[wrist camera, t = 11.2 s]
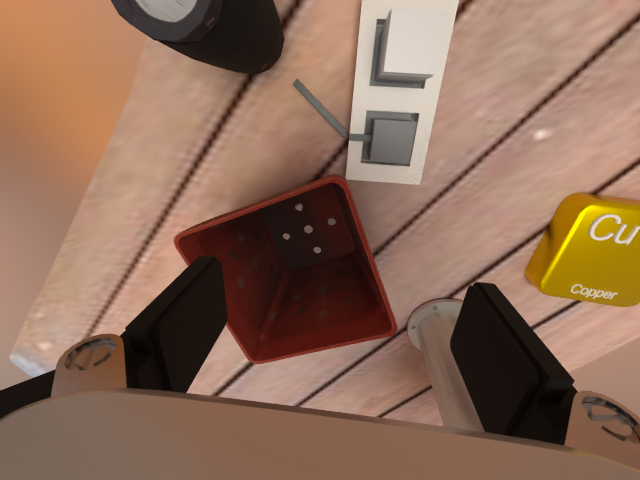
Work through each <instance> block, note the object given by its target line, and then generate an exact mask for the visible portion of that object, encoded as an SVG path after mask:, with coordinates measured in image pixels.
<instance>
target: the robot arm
mask: <svg viewBox="0 0 640 480" xmlns="http://www.w3.org/2000/svg"><path fill="white" fill-rule="evenodd" d="M227 319H228V313H227V304H226V295H225V287H224V278H223V269H222V263H221V261H218V259H217V257H214V256H204V255H200V256H199V257H198V258H197V259H196V260H195V261H194V262H193V263H192V264H190V265H189V266H188V267H187V268H186V269H185V270H184V271H183V272H182V273H181V274H180V275H179V276H178V277H177V278H176V279H175V280H174V281H173V282H172V283H171V284H170V285H169V286H168V287H167V288H166V289H165V290H164V291H163V292H162V293H161V294H160V295H159V296H157V297H156V298H155V299H154V300H153V301H152V302H151V303H150V304H149V305H148V306H147V307H146V308H145V309H144V310H143V311H142V312H141V313H140V314H139V315H138V316H137V317H136V318H135V319H134V320H133V321H132V322H131V323H130V324H129V325H128V326H127V327H126V328H125V329H126V331H125V332H124V333H123V334H121V335H120V336H118V335H114V334H101V335H96V336H92V337H90V338H87V339H84V340H82V341H80V342H79V343H77V344H75V345H73V346H72V347H71V348H69V349H68V350H67V351H65V353H64V354H63V355H62V356H61V357H60V358H59V361H58V363H57V365H56V369H55V370H53V371H50V372H48V373H45V374H42V375H40V376H37V377H35V378H32V379H29V380H27V381H24V382H21V383H19V384H16V385H14V386H11V387H9V388H6V389H4V390H1V391H0V480H640V418H639V417H638V416H637V415H636V414H634V413H633V412H632V411H630V410H629V409H628V408H627V407H625V406H624V405H622V404H620V403H619V402H617V401H615V400H613V399H611V398H609V397H607V396H605V395H602V394H599V393H596V392H592V391H581V392H577V390H576V389H575V388H574V387H573V385H572V384H573V383H574V379H573V378H572V377H571V376H570V375H569V373H568V372H567V371H566V370H565V369H564V367H563V366H562V365H561V364H560V363H559V361H558V360H557V359H556V358H555V356H554V355H553V354H552V353H551V352H550V350H549V349H548V348H547V347H546V346H545V344H544V343H543V342H542V341H541V340H540V338H539V337H538V336H537V335H536V333H535V332H534V331H533V330H532V329H531V327H530V326H529V325H528V324H527V323H526V321H525V320H524V319H523V318H522V317H521V315H520V314H519V313H518V312H517V311H516V309H515V308H514V307H513V306H512V304H511V303H510V302H509V301H508V300H507V298H506V297H505V296H504V295H503V294H502V292H501V291H500V290H499V289H498V288H497V286H496V285H495V284H491V283H481V282H476V283H475V284H474V285H473V286H469V287H468V290H467V293H466V295H465V298H464V301H459V300H456V299H438V300H433V301H431V302H428V303H426V304H424V305H422V306H420V307H419V308H418V309H416V310H415V311H414V312H413V314H412V315H411V316H410V318H409V320H408V323H407V333H408V336H409V339H410V341H411V343H412V344H413V345H414V346H415V347H416V348H417V349H418V350H420V351H422V354H423V357H424V360H425V364H426V367H427V371H428V374H429V377H430V381H431V384H432V387H433V391H434V394H435V398H436V401H437V404H438V408H439V411H440V415H441V418H442V421H443V424H444V426H437V425H429V424H422V423H415V422H408V421H400V420H393V419H386V418H378V417H371V416H363V415H356V414H348V413H341V412H333V411H325V410H318V409H310V408H302V407H295V406H287V405H279V404H271V403H263V402H256V401H248V400H240V399H232V398H224V397H216V396H208V395H199V394H190V393H186V392H187V391H188V389H189V387H190V385H191V384H192V382H193V380H194V378H195V377H196V375H197V373H198V372H199V370H200V368H201V366H202V365H203V363H204V361H205V359H206V358H207V356H208V354H209V353H210V351H211V349H212V347H213V346H214V344H215V342H216V340H217V339H218V337H219V335H220V334H221V332H222V330H223V328H224V327H225V325H226V323H227Z"/></svg>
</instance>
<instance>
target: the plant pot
mask: <svg viewBox="0 0 640 480" xmlns="http://www.w3.org/2000/svg"><path fill="white" fill-rule="evenodd" d="M297 203H301V204H302V205H303V210H302V211H300V212H299V211H296V210H295V204H297ZM330 218H334V219H335V220H336V224H335V225H334V226H329V225H328V223H327V221H328V219H330ZM306 225H310V226H312V228H313V232H312V233H311V234H306V233H305V232H304V227H305V226H306ZM284 233H287V234H289V235H290V238H289V240H287V241H286V240H284V239H283V238H282V235H283V234H284ZM174 244H175V247H176V249H177V250H178V252H179V253H180V255H181V256H182V258H183V259H184V261H185V262H186V264H187V265H188V266H189V265H190V264H192V263H193V262H194V261H195V260H196V259H197V258H198V257H199V256H200V255H204V256H214V257H217V259H218V261H221V263H222V269H223V278H224V287H225V295H226V304H227V313H228V319H227V323H226V326H227V327H228V329H229V331H230V332H231V334H232V335H233V337H234V339H235V340H236V342H237V343H238V345H239V346H240V348H241V350H242V351H243V353H244V354H245V356H246V357H247V359H248V360H249V361H250V362H252V363H254V364H263V363H267V362H272V361H276V360H281V359H285V358H290V357H294V356H299V355H303V354H308V353H313V352H318V351H322V350H326V349H331V348H336V347H341V346H346V345H350V344H355V343H360V342H365V341H369V340H375V339H380V338H384V337H389V336H392V335H394V334H395V333H396V331H397V324H396V321H395V318H394V315H393V312H392V309H391V306H390V304H389V301H388V298H387V295H386V292H385V289H384V286H383V284H382V281H381V278H380V275H379V272H378V269H377V267H376V264H375V261H374V258H373V255H372V253H371V250H370V247H369V244H368V241H367V238H366V235H365V232H364V229H363V227H362V224H361V221H360V218H359V215H358V212H357V209H356V206H355V203H354V200H353V197H352V194H351V191H350V188H349V185H348V183H347V181H346V180H345V179H344V178H343V177H341V176H339V175H334V174H333V175H329V176H326V177H324V178H321V179H318V180H316V181H313V182H311V183H309V184H306V185H303V186H301V187H298V188H295V189H293V190H290V191H288V192H285V193H282V194H280V195H277V196H274V197H271V198H269V199H266V200H264V201H261V202H258V203H256V204H253V205H250V206H247V207H244V208H241V209H238V210H234V211H232V212H229V213H226V214H223V215H220V216H217V217H215V218H212V219H209V220H207V221H205V222H202V223H200V224H197V225H195V226H193V227H191V228H189V229H187V230H185V231H183V232H181V233H179V234H177V235H176V236H175V238H174ZM315 247H320V248H321V253H320V254H316V253H314V252H313V249H314V248H315Z"/></svg>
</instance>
